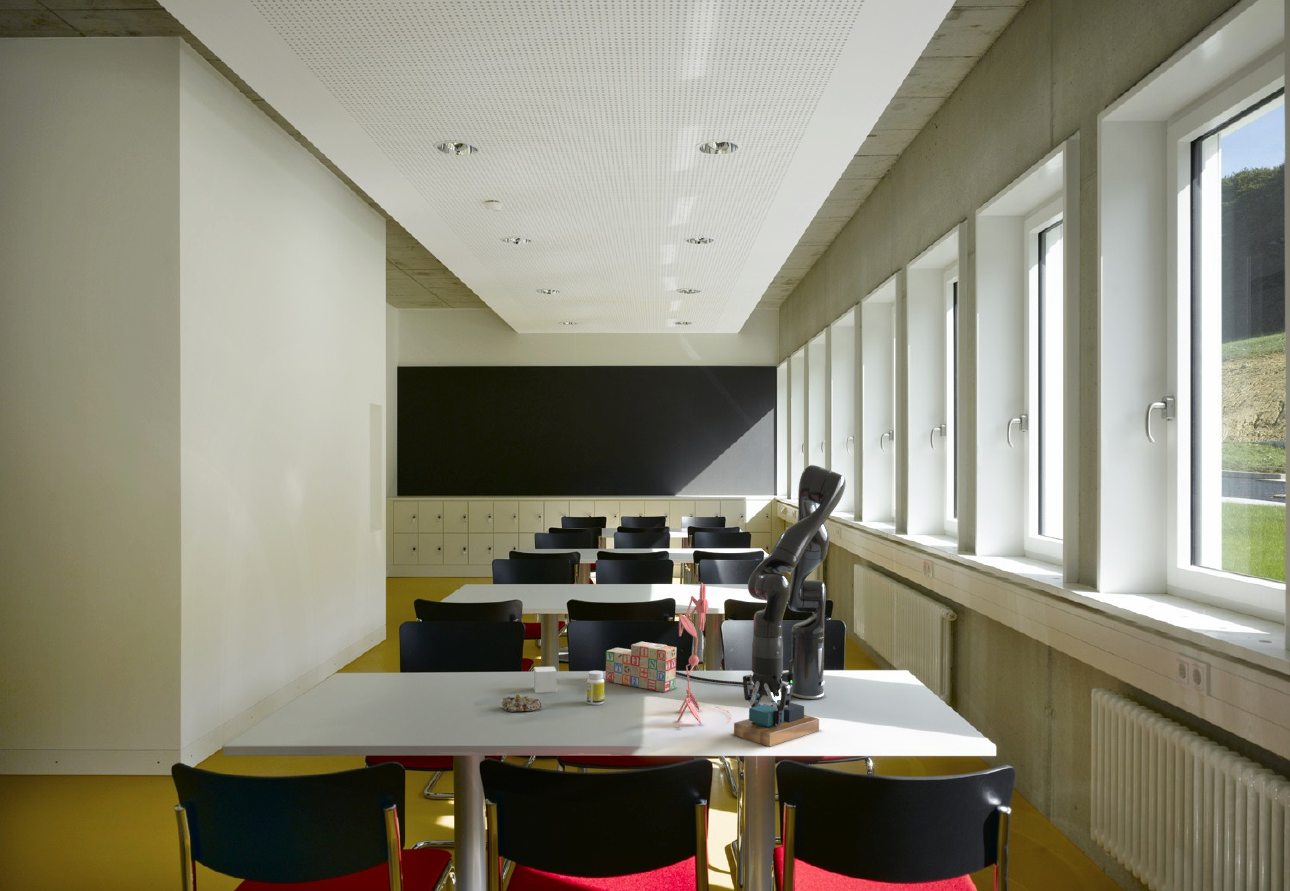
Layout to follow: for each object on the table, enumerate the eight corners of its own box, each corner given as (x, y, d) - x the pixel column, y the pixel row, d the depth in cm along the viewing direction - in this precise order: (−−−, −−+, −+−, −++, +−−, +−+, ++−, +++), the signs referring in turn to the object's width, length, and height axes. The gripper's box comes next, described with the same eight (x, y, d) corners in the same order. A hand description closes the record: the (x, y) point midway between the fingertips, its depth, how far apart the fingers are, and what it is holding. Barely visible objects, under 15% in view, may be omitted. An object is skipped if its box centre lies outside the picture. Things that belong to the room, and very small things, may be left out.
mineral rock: (498, 703, 226) (505, 687, 234) (498, 718, 228) (505, 702, 235) (538, 706, 226) (544, 690, 234) (538, 721, 227) (544, 705, 235)
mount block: (733, 735, 211) (734, 722, 211) (783, 720, 225) (783, 708, 225) (769, 746, 203) (769, 733, 203) (819, 730, 216) (819, 718, 216)
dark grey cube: (769, 729, 217) (770, 705, 217) (784, 724, 221) (785, 701, 221) (789, 734, 212) (789, 710, 213) (803, 730, 216) (804, 706, 217)
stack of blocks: (604, 681, 262) (605, 640, 262) (616, 677, 267) (617, 637, 267) (665, 692, 250) (666, 649, 250) (676, 688, 255) (676, 646, 256)
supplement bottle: (607, 702, 239) (607, 671, 239) (599, 706, 235) (599, 675, 235) (591, 699, 241) (592, 669, 241) (583, 703, 237) (584, 672, 237)
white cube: (535, 693, 247) (535, 671, 247) (533, 687, 253) (534, 667, 253) (556, 692, 248) (556, 671, 248) (554, 686, 254) (554, 666, 254)
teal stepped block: (748, 732, 211) (749, 708, 211) (764, 728, 215) (764, 703, 215) (767, 738, 207) (768, 713, 207) (783, 733, 211) (783, 709, 211)
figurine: (672, 731, 213) (674, 589, 214) (677, 703, 239) (679, 576, 240) (734, 734, 212) (737, 591, 213) (733, 705, 237) (735, 578, 238)
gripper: (800, 656, 209) (799, 726, 208) (754, 646, 219) (753, 713, 219) (781, 661, 204) (779, 732, 203) (735, 650, 214) (734, 718, 214)
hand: (766, 722), depth 211 cm, fingers closed on teal stepped block, 6 cm apart
